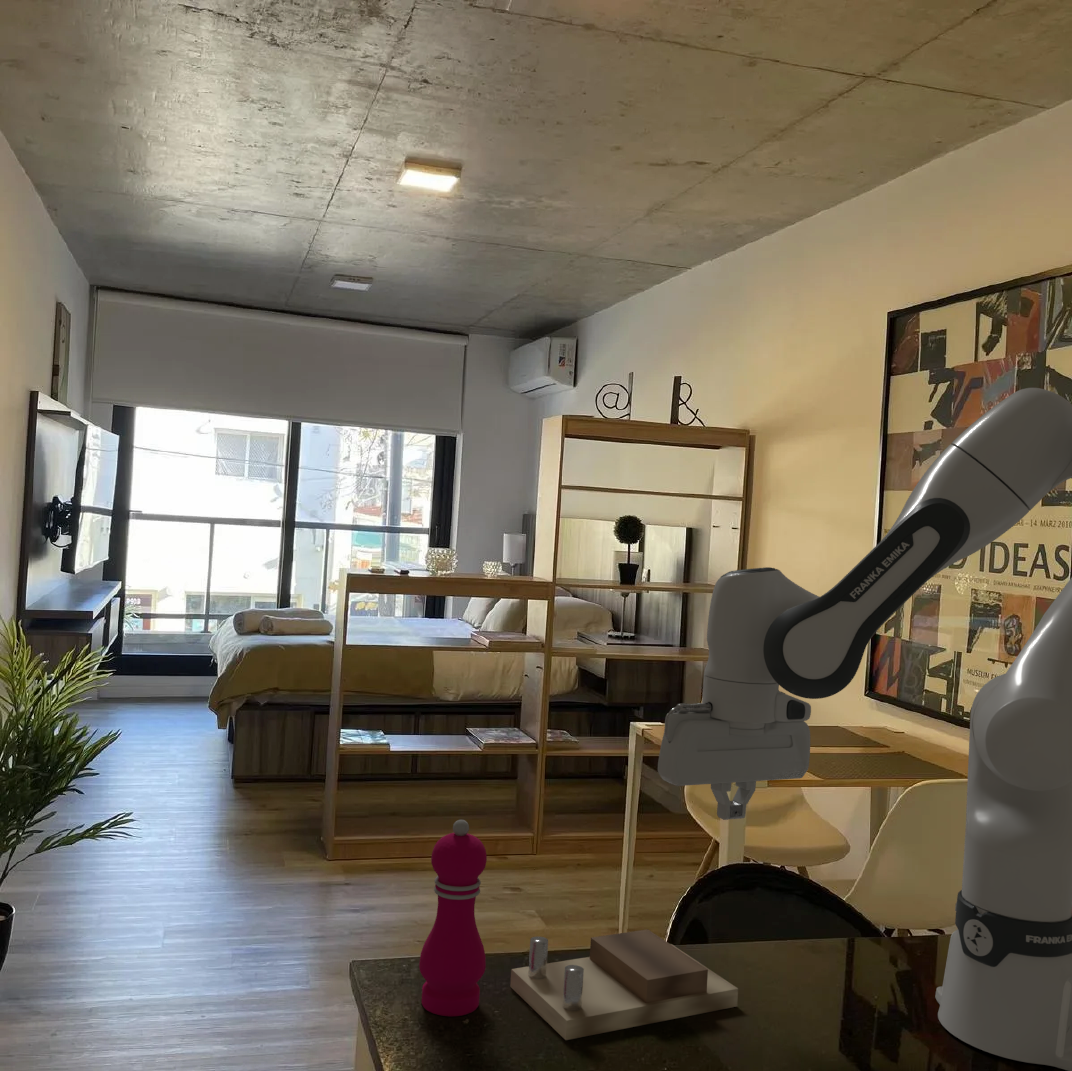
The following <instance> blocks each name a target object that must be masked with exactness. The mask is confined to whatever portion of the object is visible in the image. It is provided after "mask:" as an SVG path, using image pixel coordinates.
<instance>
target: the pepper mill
mask: <svg viewBox="0 0 1072 1071" xmlns="http://www.w3.org/2000/svg"><path fill="white" fill-rule="evenodd" d="M469 831H470V825H469V823H468V822H467V820H465V819H458V820H456V821H455V822H454V823H453V824H452V832H450V833H447V834H445V835H444V836H442V837H440V838H439V839H438V840H437V842H436V843H435V844H434V847H433V848H432V852H431V856H430V857H431V860H430V862H431V865H432V869H433V870H434V872H435V873H436V875H437V876H436V877H435V878H434V884H435V886H434V888H433V891H434V893H435V894H436V895H437V909H436V910H437V911H436V917H435V921H434V923H433V925H432V928H431V930H430V932H429V934H428V936H427V938H426V939H425V942H424V943H423V946H422V948H421V951H420V957H419V964H418V967H419V972H420V974H421V976H422V977H423V979H424V980H425V982H424V983H423V984H422V988H421V1005H422V1007H423V1008H424V1009H425V1010H426V1011H428V1012H429V1013H431V1014H434V1015H438V1016H442V1017H460V1016H461V1017H462V1016H465V1015H466V1016H467V1015H468V1014H471V1013H473V1012H475V1011H476V1010H477V1008H478V1007H479V1005H480V992H481V991H480V990H481V988H480V986H479V985H478V982H479V981H480V979H482V977H483V975H484V974H485V971H486V968H487V966H486V964H487V962H486V961H487V960H486V953H485V952H486V951H485V947H484V945H483V941H482V937H481V936H480V932H479V929H478V926H477V924H476V917H475V907H476V906H475V904H476V899H477V896H479V895H480V894H481V888H480V885H481V884H482V881H481V879H480V878H479V877H480V875H481V874H482V873H484V872H483V871H485V868H486V867H487V866H486V865H487V861H488V860H487V859H488V858H487V857H488V856H487V850H486V848H485V844H483V843H484V842H482V841H481V839H480V838H478V837H476V836H475V835H473V834H471V833H469Z"/></svg>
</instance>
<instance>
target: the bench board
mask: <svg viewBox="0 0 1072 1071" xmlns="http://www.w3.org/2000/svg"><path fill="white" fill-rule="evenodd" d="M670 944H671V945H672V946H674V947H675V948H677V949H678V950H680V951H681V952H683V953H684V954H685V955H687V956H688V957H690V958H691V959H693V960H694V961H696V962H697V963H699V964H700V965H702V966H703V967H705V968H706V969H708V978H707V992H704V993H699V994H694V995H688V996H683V997H678V998H672V999H667V1000H661V1001H656V1002H651V1003H645V1002H644V1001H642V1000H641V999H640V998H639V997H637V996H636V995H635V994H634V993H632V992H631V991H630V990H629V989H627V988H626V987H625V986H623V985H622V984H621V983H620V982H618V981H617V980H616V979H615V978H613V977H612V976H611V975H609V974H608V973H607V972H606V971H604V970H603V969H602V968H601V967H599V966H598V965H597V964H596V963H594V962H593V961H592V960H590V956H587V957H580V958H573V959H567V960H562V961H561V960H560V961H554V962H550V963H549V962H548V952H549V951H548V949H549V948H548V947H549V939H548V938H547V937H544V936H533V937H531V938H530V941H529V955H528V957H529V958H528V966H523V967H517V968H511V970H510V986H509V987H510V988H511V990H513V991H514V992H515V993H516V994H517V995H518V996H520V998H521V999H522V1000H524V1002H525V1003H526V1004H528V1005H529V1007H530V1008H532V1009H533V1010H534V1011H535V1012H536V1013H537V1014H538V1015H539V1016H540V1017H541V1018H542V1019H543V1020H544V1021H545V1022H546V1023H548V1025H549V1026H550V1027H552V1029H553V1030H554V1031H555V1032H556V1033H558V1034H559V1035H560V1037H562V1038H563V1039H564V1040H565V1041H569V1040H574V1039H579V1038H584V1037H588V1036H589V1037H591V1036H593V1035H594V1036H595V1035H599V1034H603V1033H604V1034H605V1033H610V1032H614V1031H619V1030H624V1029H630V1028H633V1027H634V1028H635V1027H640V1026H644V1025H650V1024H654V1023H660V1022H665V1021H670V1020H674V1019H675V1020H676V1019H680V1018H685V1017H689V1016H696V1015H700V1014H705V1013H706V1014H707V1013H711V1012H717V1011H721V1010H725V1009H730V1008H734V1007H738V999H739V998H738V997H739V988H738V987H737V986H735V985H733V984H732V983H731V982H729V981H727V980H726V979H724V978H723V977H722V976H720V975H719V974H718V973H715V972H714V971H712V970H711V969H709V968H708V967H707V966H705V964H703V963H700V962H699V961H698V960H696V959H695V958H693V957H692V956H690V955H689V954H687V953H685V952H684V951H682V950H681V949H679V948H678V947H676V945H674V944H672V943H670Z"/></svg>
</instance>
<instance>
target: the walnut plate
mask: <svg viewBox="0 0 1072 1071" xmlns="http://www.w3.org/2000/svg"><path fill="white" fill-rule="evenodd" d="M671 944H672V943H669V942H668V941H666V940H664V939H663V938H661V936H659V935H657V934H656V933H654V932H652V931H651V930H649V929H642V930H641V929H640V930H635V931H627V932H621V933H620V932H619V933H613V934H607V935H599V936H593V937H590V944H589V945H590V947H589V957H590V960H592V961H593V962H594V963H596V964H597V965H598V966H599V967H601V968H602V969H603V970H604V971H606V972H607V973H608V974H609V975H611V976H612V977H613V978H615V979H616V980H617V981H618V982H620V983H621V984H622V985H623V986H625V987H626V988H627V989H629V990H630V991H631V992H632V993H634V994H635V995H636V996H637V997H639V998H640V999H641V1000H642V1001H644V1002H645V1003H651V1002H656V1001H661V1000H667V999H672V998H678V997H683V996H688V995H694V994H699V993H704V992H707V978H708V969H709V968H708V969H706V968H705V967H706V966H705V967H703V966H702V965H703V964H702V965H700V964H699V963H700V962H699V963H697V962H696V961H697V960H696V961H694V960H693V959H694V958H693V959H691V958H690V957H691V956H690V957H688V956H687V955H688V954H687V955H685V954H684V953H685V952H684V951H683V952H684V953H683V952H681V951H682V950H681V949H680V950H681V951H680V950H678V949H679V948H678V947H677V948H678V949H677V948H675V947H676V946H675V945H674V946H675V947H674V946H672V945H673V944H672V945H671Z"/></svg>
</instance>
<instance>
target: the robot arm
mask: <svg viewBox="0 0 1072 1071" xmlns="http://www.w3.org/2000/svg"><path fill="white" fill-rule="evenodd" d="M1070 479H1072V403H1071V402H1070V401H1069V400H1068V399H1066V398H1065V397H1063V396H1062V395H1060V394H1058V393H1056V392H1054V391H1051V390H1049V389H1044V388H1039V387H1027V388H1021V389H1019V390H1017V391H1015V392H1013V393H1011V394H1010V395H1008V396H1007V397H1005V398H1004V399H1003V400H1001V401H999V403H997V404H996V405H994V406H993V407H992V408H990V409H989V410H987V411H986V412H985V413H983V415H981V416H980V417H979V418H977V419H976V420H975V421H974V422H972V423H971V425H969V426H968V427H967V428H966V429H965V430H963V432H961V433H960V434H959V435H958V436H957V437H956V438H955V439H954V440H953V441H952V442H951V443H950V444H949V445H948V446H947V447H946V448H945V449H944V450H943V451H942V452H941V453H940V454H939V455H938V456H937V458H935V460H934V461H933V462H932V464H931V465H930V466H929V467H928V468H927V470H926V471H925V472H924V474H923V475H922V476H921V478H920V479H919V481H918V482H917V484H916V485H915V487H914V488H913V490H912V491H911V493H910V494H909V496H908V498H907V500H906V502H905V504H904V506H903V507H902V510H901V511H900V514H899V515H898V517H897V518H896V520H895V522H894V523H893V524H892V526H891V528H889V530H888V532H887V533H885V534H886V535H885V536H884V537H883V538H882V539H881V540H880V541H879V542H878V543H877V544H876V545H875V546H874V547H873V548H872V549H871V550H870V551H869V552H868V553H867V554H866V556H864V557H863V558H862V559H861V560H860V561H859V562H858V563H857V564H856V565H855V566H854V567H853V568H851V570H850V571H848V572H847V574H845V575H844V576H843V578H842V579H841V580H839V581H838V583H836V584H835V585H834V586H833V587H831V588H830V589H829V590H828V591H827V592H825V593H824V594H823V595H822V594H821V596H819V595H816V594H814V593H813V592H810V591H809V590H806V589H805V588H804V587H802V586H800V585H799V584H797V583H796V582H794V581H793V580H791V579H789V578H788V577H787V576H786V575H785V574H784V573H783V572H782V571H781V570H780V569H778V568H775V567H770V566H769V567H768V566H767V567H766V566H764V567H757V568H756V567H755V568H744V569H736V570H730V571H728V572H726V573H724V574H723V575H721V576H720V577H719V578H718V579H717V580H716V582H715V585H714V587H713V590H712V595H711V599H710V603H709V604H710V605H709V612H708V619H707V629H706V630H707V632H706V642H707V647H708V658H707V662H706V665H705V667H704V672H703V684H702V694H701V695H702V698H701V702H697V703H684V702H683V703H677V704H676V706H675V707H673V708H672V709H670V710H669V712H668V713H667V714H666V715H665V718H664V719H665V720H664V730H663V731H664V732H663V735H662V739H661V743H660V750H659V754H658V760H657V761H658V762H657V773H658V775H659V777H660V778H661V779H662V780H663V781H664V782H667V783H668V784H671V785H674V786H676V787H682V786H698V785H699V786H700V785H710V789H711V792H712V794H713V797H714V798H715V800H716V802H717V808H716V815H717V817H718V818H719V819H721V820H723V821H727V820H738V819H739V820H740V819H745V818H746V815H747V814H746V812H747V805H748V804H749V802H750V800H751V798H752V797H753V794H754V793H755V791H756V785H757V782H760V781H761V782H764V781H780V780H797V779H802V778H804V776H805V774H806V773H808V770H809V767H810V758H811V730H810V726H809V725H808V723H807V722H806V721H808V720H809V719H810V718H811V715H812V706H811V704H810V703H808V702H807V701H803V700H801V699H799V698H797V697H800V698H804V699H809V700H818V699H819V700H820V699H826V698H829V697H831V696H834V695H836V694H838V693H840V692H841V691H843V690H844V689H845V688H846V687H847V686H849V684H850V683H851V682H852V681H853V679H854V678H855V676H856V674H857V672H858V671H859V668H860V665H861V662H862V659H863V656H864V654H865V651H866V649H867V646H868V644H869V642H870V640H872V638H873V636H874V635H875V634H876V632H878V630H879V629H880V628H881V627H882V626H883V625H884V624H885V623H886V622H887V621H888V620H889V619H890V618H891V617H892V616H893V615H894V614H895V613H896V612H897V611H898V610H899V609H900V608H902V607H903V605H904V604H905V603H906V602H907V601H908V600H909V599H910V598H911V597H912V596H913V595H914V594H916V593H917V592H918V590H920V589H921V588H922V586H924V585H925V584H926V583H927V582H928V581H929V580H930V579H932V578H933V577H935V575H937V574H939V573H940V572H941V571H943V570H945V569H946V568H948V567H949V566H952V565H954V564H955V563H957V562H959V561H961V560H963V559H965V558H967V557H970V556H971V555H974V554H976V552H979V551H980V550H981V549H983V548H985V547H986V546H988V545H990V544H991V543H993V542H994V541H996V540H997V539H998V538H1000V537H1001V536H1002V535H1003V534H1005V533H1006V532H1008V531H1009V530H1011V529H1012V528H1013V527H1014V526H1015V525H1016V524H1018V523H1019V522H1020V521H1021V520H1022V519H1023V518H1024V517H1025V516H1026V515H1027V514H1028V513H1029V512H1031V510H1032V509H1033V508H1035V507H1036V505H1038V504H1039V503H1040V501H1042V500H1043V498H1044V497H1045V496H1046V495H1048V493H1050V492H1051V491H1052V490H1054V489H1055V488H1056V487H1058V486H1060V485H1061V484H1062V483H1063V482H1066V481H1067V480H1070ZM780 687H781V688H782V689H783V690H785V691H786V692H788V693H790V694H792V695H793V696H792V695H789V694H787V693H786V692H783V691H780ZM794 696H797V697H794ZM967 762H968V765H967V784H966V786H967V790H966V791H967V792H966V812H965V815H966V816H965V817H966V818H965V834H964V848H963V849H964V850H963V851H964V853H963V863H962V864H963V865H962V881H961V882H962V883H961V889H960V890H959V891H958V892H957V897H956V903H955V908H954V911H955V920H954V923H955V926H956V928H957V929H955V930H954V931H953V932H951V936H950V939H949V945H948V950H947V955H946V956H947V958H946V964H945V969H944V975H943V981H942V986H938V987H936V991H935V997H934V998H935V999H936V1002H937V1003H938V1004H939V1008H938V1012H937V1019H938V1020H939V1022H940V1024H941V1025H942V1027H943V1028H944V1029H945V1030H947V1031H948V1032H949V1033H950V1034H951V1035H953V1036H954V1037H955V1038H958V1040H960V1041H962V1042H964V1043H966V1044H968V1045H969V1046H972V1047H974V1048H976V1049H979V1050H982V1051H983V1052H986V1053H989V1054H992V1055H995V1056H998V1057H1001V1058H1005V1059H1009V1060H1013V1061H1017V1062H1023V1063H1028V1064H1036V1065H1045V1066H1050V1067H1055V1068H1057V1069H1062V1070H1065V1071H1072V577H1071V578H1070V579H1069V580H1068V581H1067V583H1066V584H1065V585H1064V586H1063V588H1062V590H1061V591H1060V592H1059V594H1058V595H1057V596H1056V597H1055V599H1054V600H1053V601H1052V602H1051V604H1050V606H1049V607H1048V608H1047V609H1046V611H1045V612H1044V614H1042V617H1041V618H1040V620H1039V622H1038V624H1037V625H1036V627H1035V629H1034V630H1033V631H1032V633H1031V635H1030V637H1029V638H1028V639H1027V641H1026V643H1025V644H1024V646H1023V647H1022V649H1021V650H1020V652H1019V653H1018V655H1017V656H1016V658H1015V659H1014V661H1013V662H1012V664H1011V665H1010V666H1009V668H1008V669H1007V671H1006V673H1003V674H1000V675H997V676H995V677H994V678H992V679H990V680H989V681H987V682H986V683H985V684H984V685H982V687H981V688H980V689H979V690H978V692H977V693H976V695H975V697H974V699H973V702H972V705H971V709H970V720H969V740H968V761H967ZM733 783H735V786H736V787H738V788H737V790H736V792H735V794H734V796H733V798H732V800H730V797H729V795H728V793H729V792H731V790H732V784H733Z"/></svg>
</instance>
